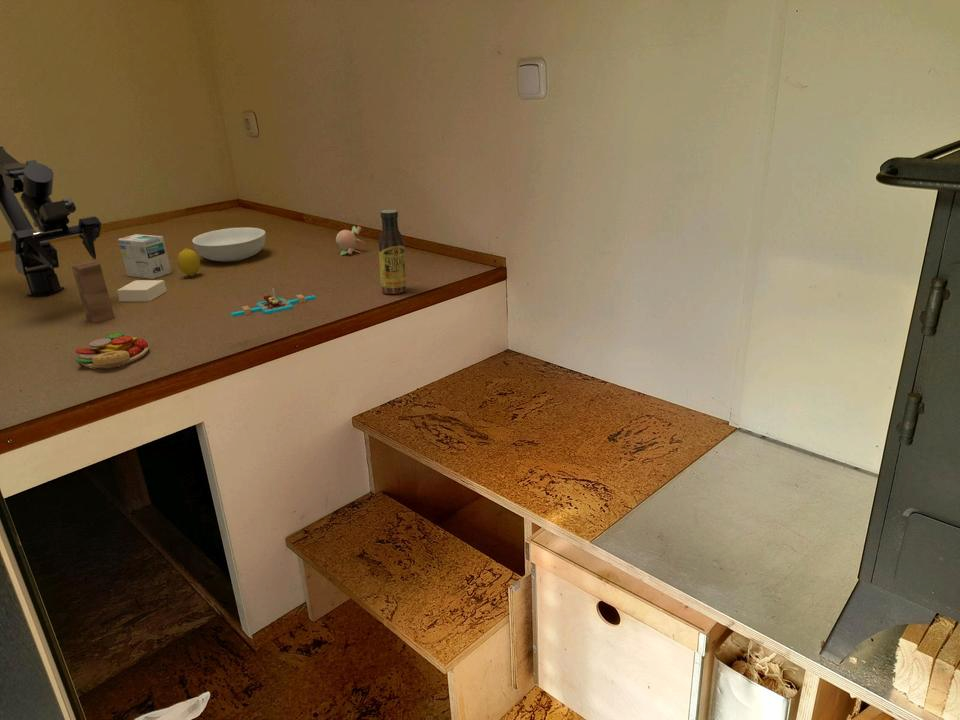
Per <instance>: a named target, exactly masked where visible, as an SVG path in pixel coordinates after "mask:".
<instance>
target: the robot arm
mask: <svg viewBox="0 0 960 720" xmlns="http://www.w3.org/2000/svg"><path fill="white" fill-rule="evenodd" d="M25 162H26V163H23V162H19V161H18V160H17V159H16V158H15V157H13V156H12V155H11V154H9V153H8V152H7V151H6V149H5V147H4V146H1V145H0V211H1V214H2V215H3V217H4V219H5V221H6V223H7V225H8V226H9V228H10V230H11V234H10V246H11V249H12V251H13V252H14V254H15V257H14V265H15V268H16V270H17V273H18V274H21V275H24V276H25V277H24V278H25V280H26V282H27V286H28V288H29V292H28V293H26V294H25V295H26V296H29V297H40V296H42V297H47V296H51V295H53V294H56V293H58V292H59V291H61V290H64V289H65V286H61V285H60V282H59V281H60V280H59V278H58V275H57V273H56V271H55V269H56V268H60V263H59V257H58V250H57V249H56V248H55V246H54V245H53V244H51V242H50V241H49V240H52V241H54V240H58V239H62V238H68V237H73V236H79V238H80V239H81V240H82V241H81V243H82V244H83V246H84V248H85V249H86V251H87V252H88V254H89V256H90V257H91V259H93V260H96V258H97V253H96V248H95V243H94V242H96V240H97V239H98V238H99V237H100V234H101V229H102V222H101V220H100V219H99V218H98V217H97V216H94V215H93V216H87V217H82V218H81V217H80V218H79V219H78V225H73V226H68V224H69V223H70V219H69V217H68V216H71V214H73V213H75V212H76V211H77V207H76V205H75V203H74V200H73V199H72V198H71V197H66V198H62V199H61V200H59V201H53V200H52V198H51V195H52V194H53V187H54V185H53V184H54V172H53V170H52V168H50V167H49V166H47V165H45V164H42V163H38V161H37V160H36V159H33V160H26V161H25ZM20 193H21V195H20V200H21V201H20V202H21V203H22V205H23V207H22V206H21V204H20V202H19V199H17V197H16V195H15V194H20ZM23 208H24V209H25V210H26V211H27V212H28V215H29V216H30V217H31V219H32V221H33V223H32V224H33V225H32V224H31V222H30V220H29V218H28V216H27V215H26V212H25V211H24V209H23ZM33 226H34V228H37V229H38V230H39V231H38V232H37V231H36V230H35V229H34V228H33Z"/></svg>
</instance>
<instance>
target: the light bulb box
mask: <svg viewBox="0 0 960 720" xmlns="http://www.w3.org/2000/svg"><path fill="white" fill-rule="evenodd" d="M117 242H118V245H119V249H120V252H121V253H120V254H121V257H122V262H123V264H124V268H125V271H126V275H127V277H133V278H134V277H135V278H142V279H149V280H151V279H152V280H155V279H157V278H160V277H163V276H166V275H169V274H172V269H171V264H170V261H169V256H168V252H167V249H166V243H165V240H164V236H163V235H149V234H138V233H136V234H132V235H128V236H124V237H121V238H118V239H117Z"/></svg>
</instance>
